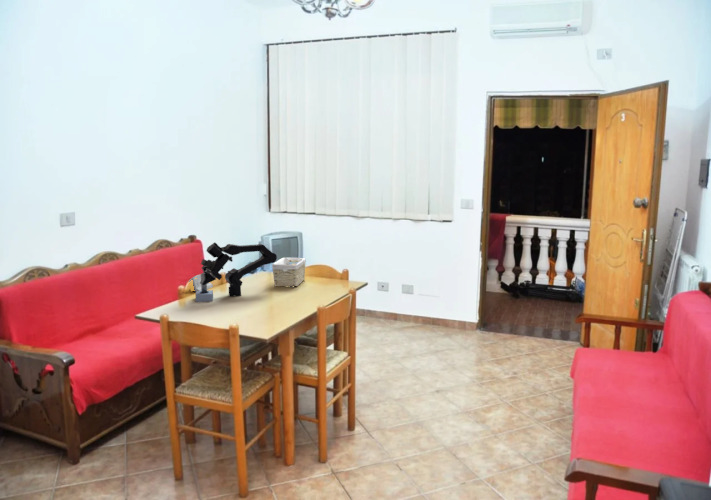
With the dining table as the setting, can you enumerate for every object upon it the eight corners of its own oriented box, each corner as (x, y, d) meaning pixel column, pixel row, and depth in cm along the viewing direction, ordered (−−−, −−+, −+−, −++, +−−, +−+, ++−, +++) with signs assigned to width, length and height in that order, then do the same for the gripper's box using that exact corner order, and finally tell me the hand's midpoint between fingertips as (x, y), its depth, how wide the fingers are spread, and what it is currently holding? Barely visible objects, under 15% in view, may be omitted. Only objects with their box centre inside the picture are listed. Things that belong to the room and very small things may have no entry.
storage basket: (296, 288, 338) (296, 264, 335) (271, 287, 341) (270, 263, 338) (306, 280, 361) (306, 257, 359) (282, 279, 364) (282, 257, 361)
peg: (208, 295, 311) (207, 273, 308) (204, 296, 308) (203, 274, 306) (204, 294, 312) (203, 272, 310) (200, 295, 309) (199, 273, 307)
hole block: (213, 297, 316) (212, 290, 315) (212, 300, 307) (212, 293, 306) (196, 297, 314) (196, 291, 313) (195, 301, 305) (195, 294, 304)
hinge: (199, 292, 326) (193, 276, 325) (192, 294, 327) (186, 279, 327) (213, 286, 342) (208, 271, 341) (207, 288, 343) (201, 273, 343)
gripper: (204, 251, 316) (185, 272, 312) (215, 256, 301) (196, 278, 296) (218, 263, 321) (200, 284, 317) (229, 268, 306) (211, 290, 302)
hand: (201, 284), depth 308 cm, fingers closed on peg, 3 cm apart
